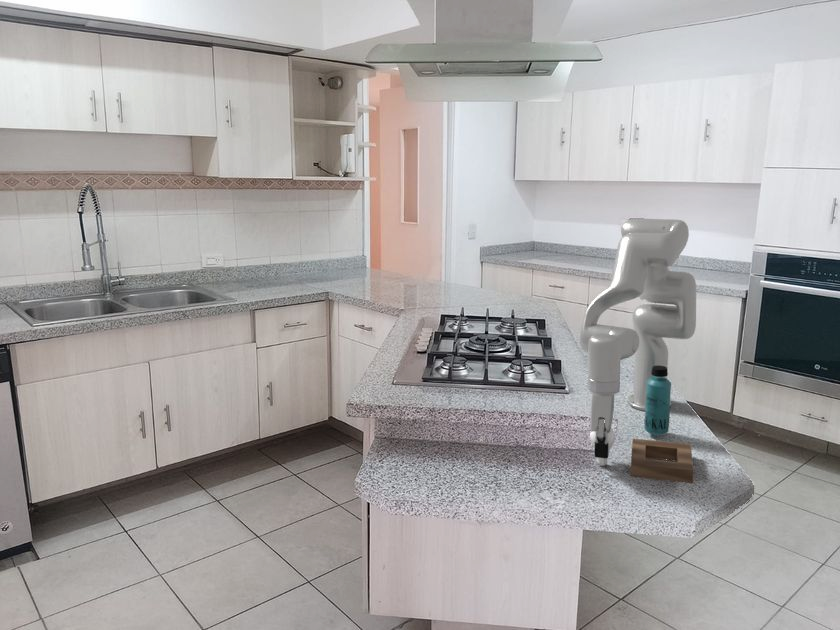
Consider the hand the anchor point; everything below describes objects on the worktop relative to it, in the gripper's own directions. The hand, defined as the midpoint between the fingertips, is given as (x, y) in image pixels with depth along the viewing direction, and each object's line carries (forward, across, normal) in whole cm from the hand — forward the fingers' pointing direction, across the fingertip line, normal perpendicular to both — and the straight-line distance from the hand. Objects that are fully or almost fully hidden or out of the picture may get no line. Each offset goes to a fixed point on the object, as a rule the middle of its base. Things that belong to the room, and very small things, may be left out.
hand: (602, 450), depth 160 cm
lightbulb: (+4, 0, 0) cm, 4 cm away
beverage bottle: (+4, -21, +13) cm, 25 cm away
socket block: (+4, -3, +14) cm, 15 cm away
